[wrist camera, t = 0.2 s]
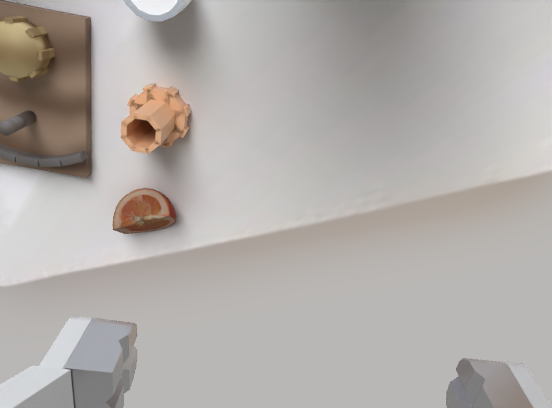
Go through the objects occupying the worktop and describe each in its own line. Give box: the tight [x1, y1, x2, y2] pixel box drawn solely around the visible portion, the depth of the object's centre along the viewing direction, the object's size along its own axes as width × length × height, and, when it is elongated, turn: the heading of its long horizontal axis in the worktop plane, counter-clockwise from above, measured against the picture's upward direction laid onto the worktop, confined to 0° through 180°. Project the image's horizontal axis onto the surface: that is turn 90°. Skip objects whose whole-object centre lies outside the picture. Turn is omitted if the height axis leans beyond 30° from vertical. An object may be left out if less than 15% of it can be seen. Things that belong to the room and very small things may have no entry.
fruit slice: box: [113, 188, 176, 234], centre depth 60 cm, size 8×7×5 cm
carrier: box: [0, 0, 91, 178], centre depth 53 cm, size 20×14×7 cm
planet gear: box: [121, 83, 191, 153], centre depth 53 cm, size 8×8×8 cm
